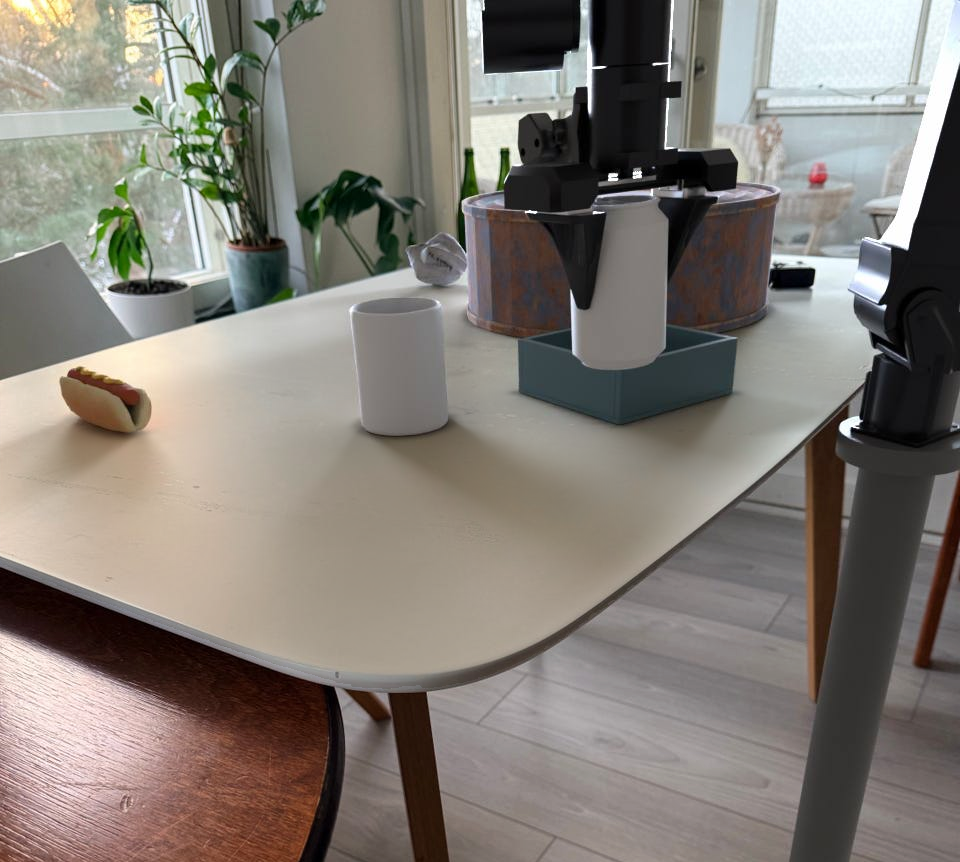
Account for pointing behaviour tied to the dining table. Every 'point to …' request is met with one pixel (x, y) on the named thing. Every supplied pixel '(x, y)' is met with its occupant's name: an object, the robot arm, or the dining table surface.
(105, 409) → the food
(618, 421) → the box
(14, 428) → the dining table surface
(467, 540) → the dining table surface
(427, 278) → the crumpled paper ball
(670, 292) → the container
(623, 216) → the can
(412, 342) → the mug
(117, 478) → the dining table surface
